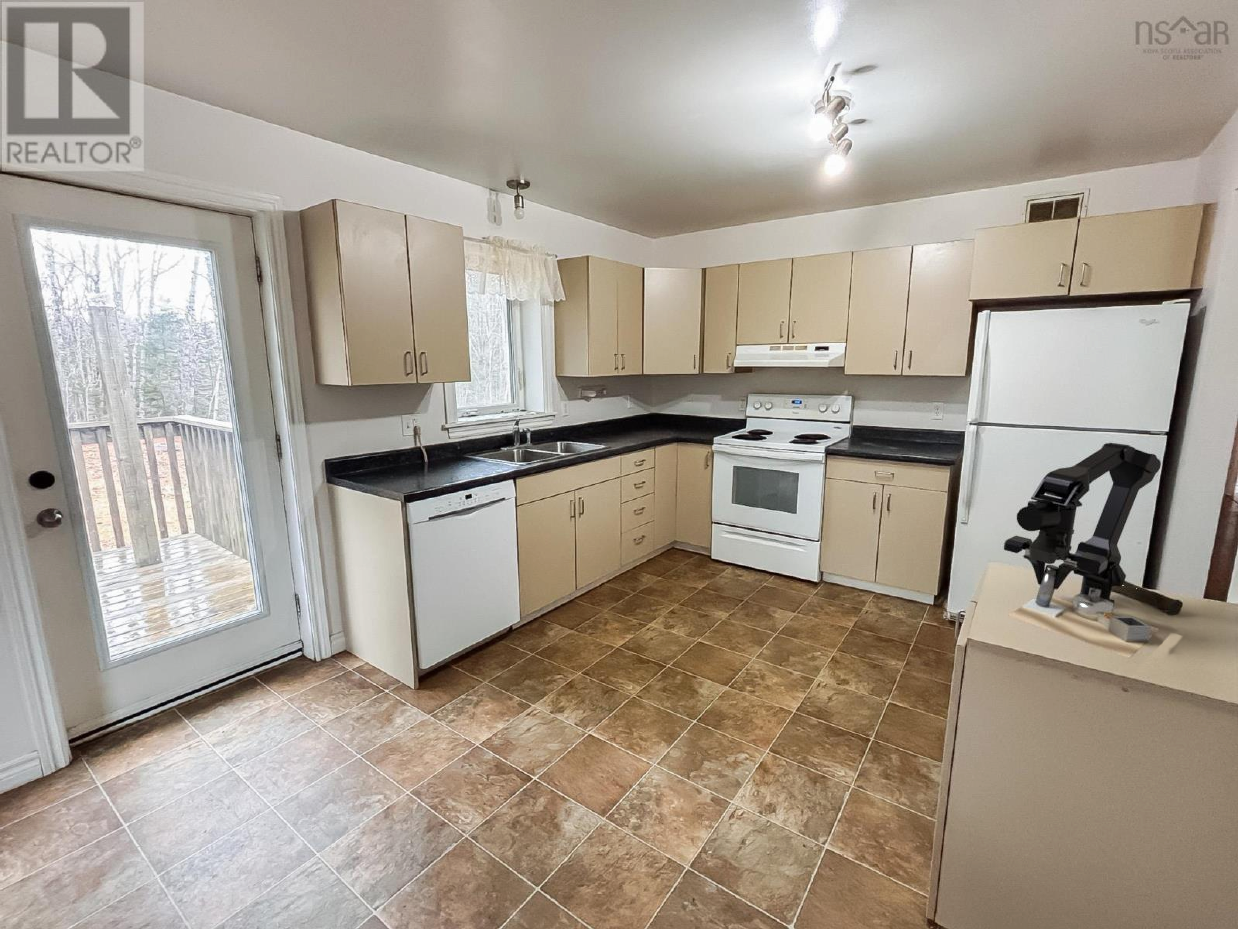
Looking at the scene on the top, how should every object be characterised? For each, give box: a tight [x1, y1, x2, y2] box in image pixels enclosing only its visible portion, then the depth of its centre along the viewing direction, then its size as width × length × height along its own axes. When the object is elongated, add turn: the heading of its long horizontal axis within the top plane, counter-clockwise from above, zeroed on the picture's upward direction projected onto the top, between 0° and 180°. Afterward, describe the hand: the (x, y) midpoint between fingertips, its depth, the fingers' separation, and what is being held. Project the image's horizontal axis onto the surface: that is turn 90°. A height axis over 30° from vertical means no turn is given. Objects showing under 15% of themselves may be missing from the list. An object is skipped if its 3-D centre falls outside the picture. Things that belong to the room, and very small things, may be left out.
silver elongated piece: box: [1072, 587, 1152, 643], centre depth 123 cm, size 16×7×6 cm, turn 177°
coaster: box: [1023, 597, 1066, 617], centre depth 132 cm, size 6×6×1 cm
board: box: [1007, 596, 1160, 658], centre depth 125 cm, size 20×22×2 cm
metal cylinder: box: [1035, 564, 1059, 607], centre depth 131 cm, size 3×3×10 cm
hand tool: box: [1111, 580, 1184, 616], centre depth 139 cm, size 19×4×5 cm, turn 10°
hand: (1048, 586), depth 131 cm, fingers closed on metal cylinder, 3 cm apart
